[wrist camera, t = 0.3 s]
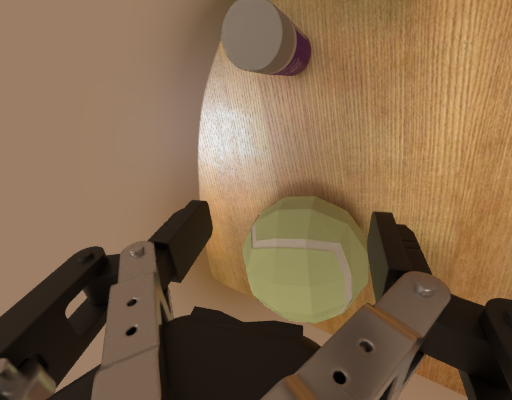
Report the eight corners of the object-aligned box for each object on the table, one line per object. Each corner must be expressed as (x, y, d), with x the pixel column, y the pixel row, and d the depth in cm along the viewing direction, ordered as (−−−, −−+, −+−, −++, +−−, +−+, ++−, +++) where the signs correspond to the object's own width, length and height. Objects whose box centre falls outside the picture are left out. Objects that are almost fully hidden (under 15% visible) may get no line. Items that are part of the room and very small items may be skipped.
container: (297, 83, 32) (263, 85, 19) (265, 63, 32) (210, 52, 19) (319, 43, 29) (298, 15, 16) (284, 22, 29) (236, -23, 16)
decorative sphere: (256, 183, 39) (211, 234, 26) (363, 177, 34) (373, 238, 21) (270, 264, 44) (239, 339, 32) (363, 269, 39) (372, 362, 26)
